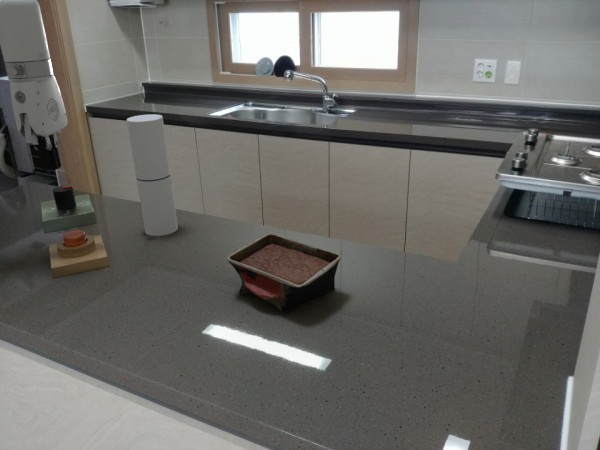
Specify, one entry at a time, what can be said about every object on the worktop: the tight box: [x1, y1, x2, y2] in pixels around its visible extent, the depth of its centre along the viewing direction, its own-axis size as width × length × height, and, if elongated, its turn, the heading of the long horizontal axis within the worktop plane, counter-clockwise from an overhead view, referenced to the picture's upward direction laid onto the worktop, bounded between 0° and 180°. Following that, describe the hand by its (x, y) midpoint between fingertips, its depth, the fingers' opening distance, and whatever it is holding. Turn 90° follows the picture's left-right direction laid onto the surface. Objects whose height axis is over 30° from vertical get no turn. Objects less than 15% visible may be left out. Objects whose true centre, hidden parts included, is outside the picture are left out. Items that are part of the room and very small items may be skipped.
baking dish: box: [226, 233, 342, 315], centre depth 91 cm, size 14×18×10 cm
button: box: [62, 229, 86, 247], centre depth 105 cm, size 4×4×2 cm
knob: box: [52, 185, 76, 210], centre depth 126 cm, size 4×4×5 cm
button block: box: [48, 233, 110, 279], centre depth 106 cm, size 12×10×4 cm
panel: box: [40, 193, 97, 234], centre depth 128 cm, size 14×11×3 cm
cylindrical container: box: [126, 113, 179, 237], centre depth 115 cm, size 7×7×25 cm
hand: (51, 168), depth 104 cm, fingers closed
